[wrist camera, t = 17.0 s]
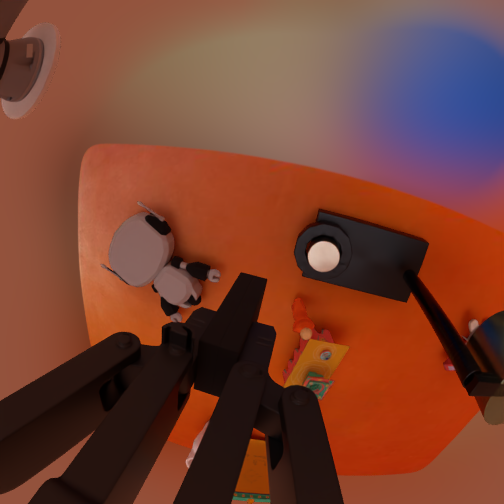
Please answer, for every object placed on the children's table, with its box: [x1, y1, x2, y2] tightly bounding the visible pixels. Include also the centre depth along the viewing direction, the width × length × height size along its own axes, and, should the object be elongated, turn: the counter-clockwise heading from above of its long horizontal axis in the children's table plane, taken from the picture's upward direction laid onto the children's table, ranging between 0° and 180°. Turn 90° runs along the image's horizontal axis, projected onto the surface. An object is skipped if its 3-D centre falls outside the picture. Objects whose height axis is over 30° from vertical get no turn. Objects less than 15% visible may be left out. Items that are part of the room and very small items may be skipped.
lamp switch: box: [308, 237, 340, 272], centre depth 31 cm, size 3×3×2 cm
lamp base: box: [294, 208, 429, 303], centre depth 33 cm, size 16×8×4 cm, turn 79°
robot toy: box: [101, 201, 221, 322], centre depth 39 cm, size 12×4×15 cm
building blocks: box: [232, 298, 349, 504], centre depth 36 cm, size 12×35×14 cm, turn 161°
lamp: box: [403, 269, 504, 425], centre depth 20 cm, size 10×7×19 cm
